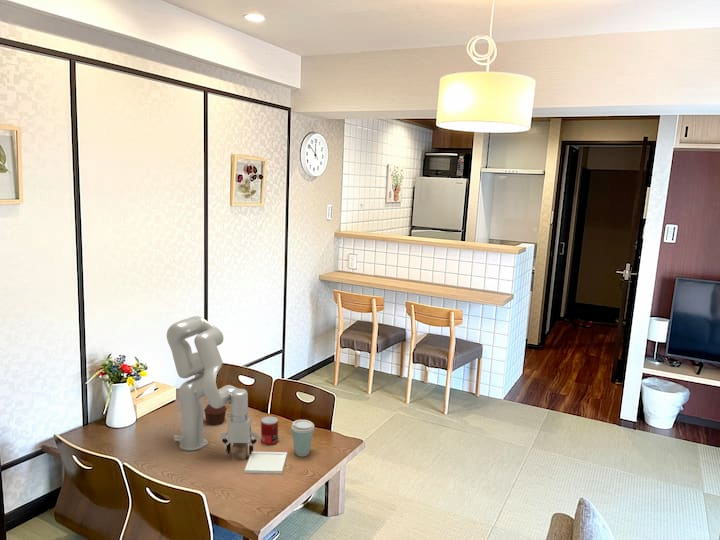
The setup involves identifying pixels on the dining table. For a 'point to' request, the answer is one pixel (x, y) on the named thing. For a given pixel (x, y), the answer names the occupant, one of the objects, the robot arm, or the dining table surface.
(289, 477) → the dining table surface
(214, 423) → the muffin
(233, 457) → the cube
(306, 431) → the disposable coffee cup
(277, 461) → the plate
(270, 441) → the canned food
